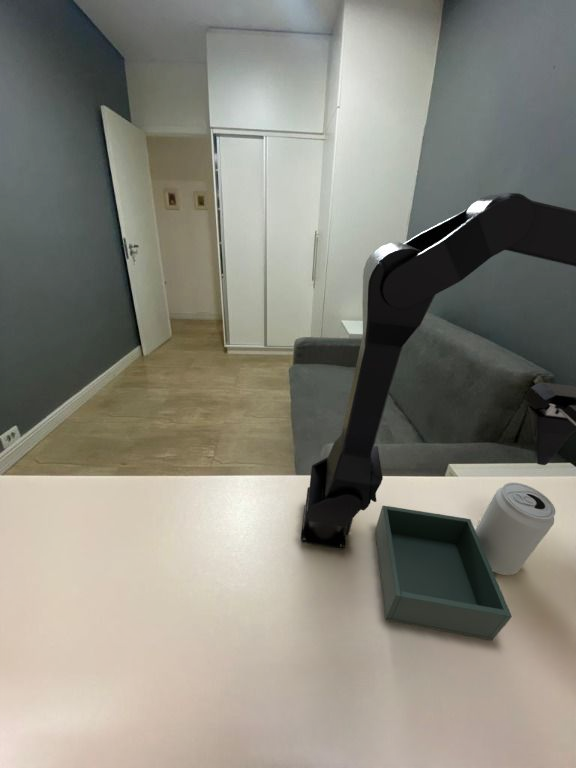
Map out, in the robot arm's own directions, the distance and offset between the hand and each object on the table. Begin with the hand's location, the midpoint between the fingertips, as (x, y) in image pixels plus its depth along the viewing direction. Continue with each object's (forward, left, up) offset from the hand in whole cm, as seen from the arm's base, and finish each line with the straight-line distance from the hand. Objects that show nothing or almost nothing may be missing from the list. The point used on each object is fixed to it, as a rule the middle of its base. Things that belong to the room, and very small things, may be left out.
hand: (562, 490), depth 38 cm
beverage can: (-3, 0, -14) cm, 15 cm away
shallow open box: (-13, -5, -14) cm, 20 cm away
